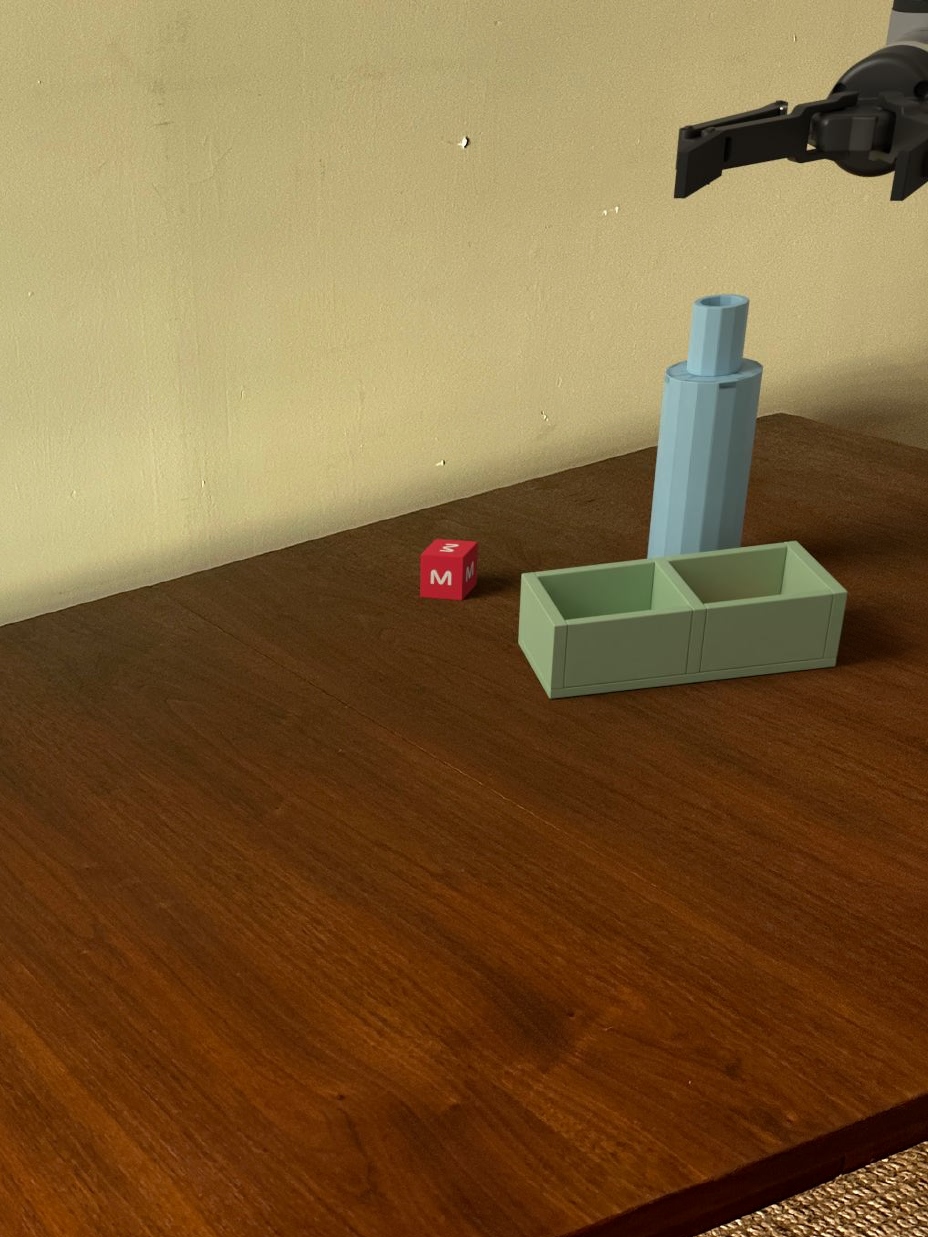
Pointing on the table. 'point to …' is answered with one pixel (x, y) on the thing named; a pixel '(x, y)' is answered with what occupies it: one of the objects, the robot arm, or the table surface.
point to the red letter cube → (448, 569)
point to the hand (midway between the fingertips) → (787, 175)
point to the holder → (680, 619)
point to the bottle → (706, 435)
